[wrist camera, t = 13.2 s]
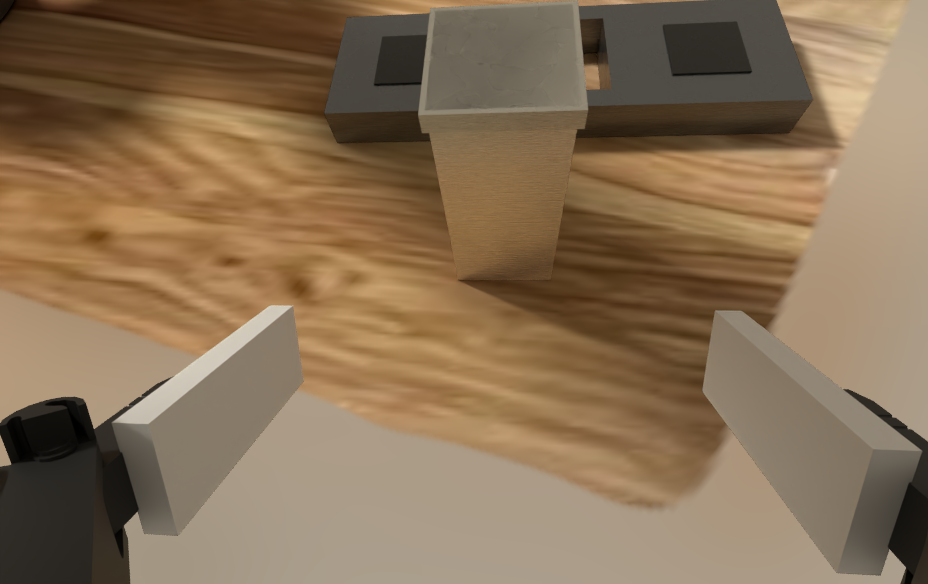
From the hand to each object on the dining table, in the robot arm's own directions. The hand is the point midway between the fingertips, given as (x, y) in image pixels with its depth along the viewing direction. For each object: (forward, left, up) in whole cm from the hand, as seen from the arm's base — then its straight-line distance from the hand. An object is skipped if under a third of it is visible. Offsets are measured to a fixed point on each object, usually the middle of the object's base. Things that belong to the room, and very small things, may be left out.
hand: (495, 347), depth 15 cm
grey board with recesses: (+3, +22, -9) cm, 24 cm away
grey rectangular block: (0, +9, -9) cm, 13 cm away
